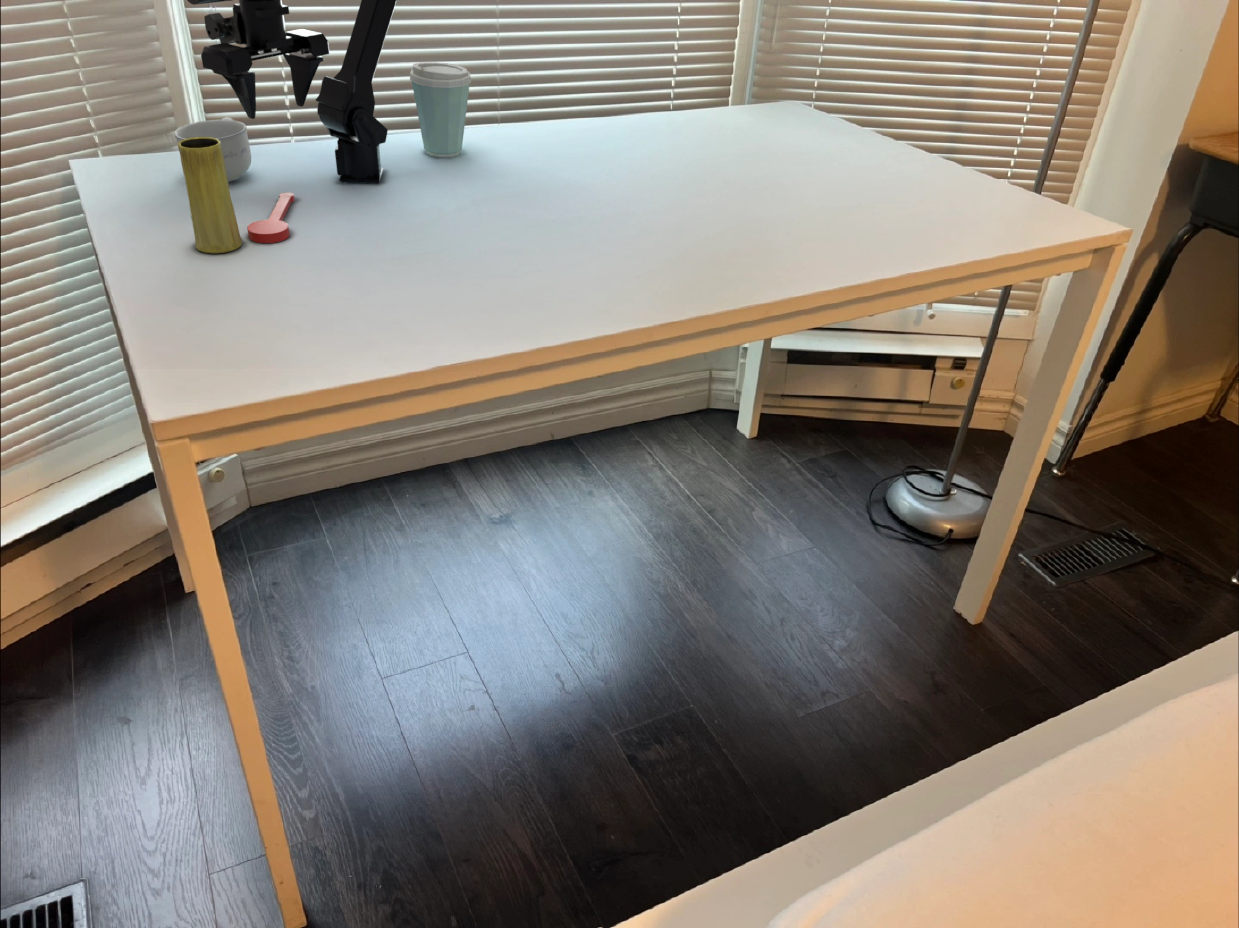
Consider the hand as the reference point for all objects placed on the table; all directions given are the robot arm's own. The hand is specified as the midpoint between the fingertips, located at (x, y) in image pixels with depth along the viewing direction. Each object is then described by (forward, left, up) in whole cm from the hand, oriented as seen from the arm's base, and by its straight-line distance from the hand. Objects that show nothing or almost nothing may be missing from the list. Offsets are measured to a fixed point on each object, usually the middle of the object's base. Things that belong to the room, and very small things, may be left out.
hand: (276, 111), depth 142 cm
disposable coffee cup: (-23, -24, -13) cm, 36 cm away
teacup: (+12, -10, -13) cm, 20 cm away
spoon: (0, +10, -13) cm, 16 cm away
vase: (+6, +20, -13) cm, 25 cm away
